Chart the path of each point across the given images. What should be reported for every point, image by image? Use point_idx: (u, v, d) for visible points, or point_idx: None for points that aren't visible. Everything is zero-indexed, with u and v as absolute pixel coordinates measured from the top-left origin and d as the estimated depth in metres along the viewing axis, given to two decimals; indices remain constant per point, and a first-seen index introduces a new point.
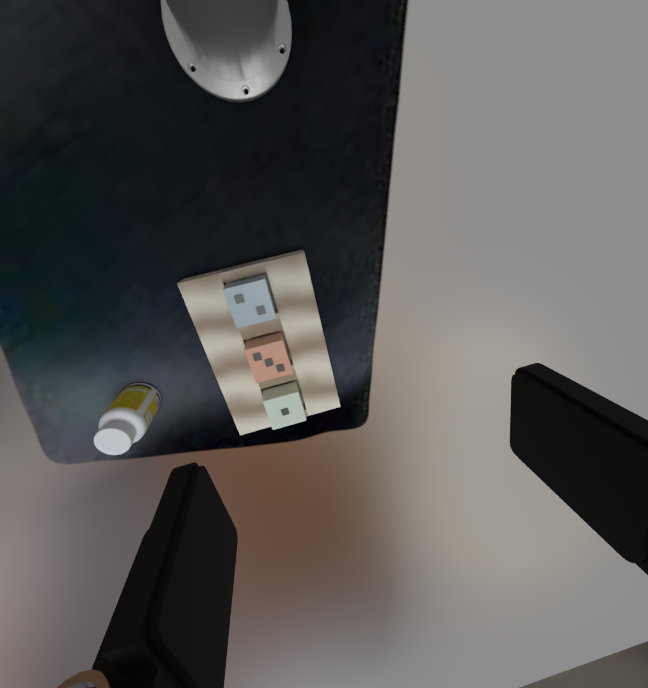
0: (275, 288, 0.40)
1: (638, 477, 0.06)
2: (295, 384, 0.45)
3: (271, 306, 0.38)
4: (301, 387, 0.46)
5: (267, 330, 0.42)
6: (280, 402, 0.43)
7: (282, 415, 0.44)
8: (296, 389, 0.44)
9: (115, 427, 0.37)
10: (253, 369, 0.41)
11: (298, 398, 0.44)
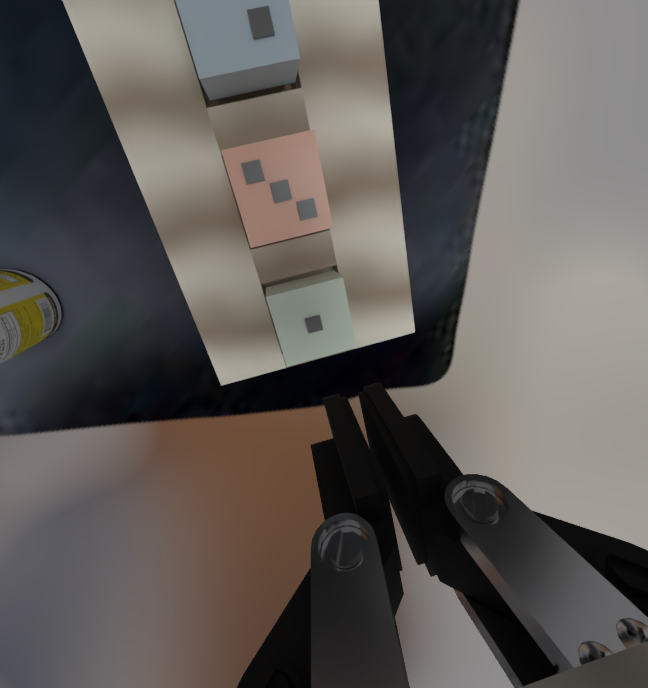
0: (295, 12, 0.17)
1: (403, 490, 0.07)
2: (333, 272, 0.22)
3: (288, 15, 0.15)
4: None
5: (276, 134, 0.19)
6: (303, 302, 0.20)
7: (308, 333, 0.21)
8: (338, 275, 0.20)
9: None
10: (244, 209, 0.17)
11: (343, 294, 0.20)
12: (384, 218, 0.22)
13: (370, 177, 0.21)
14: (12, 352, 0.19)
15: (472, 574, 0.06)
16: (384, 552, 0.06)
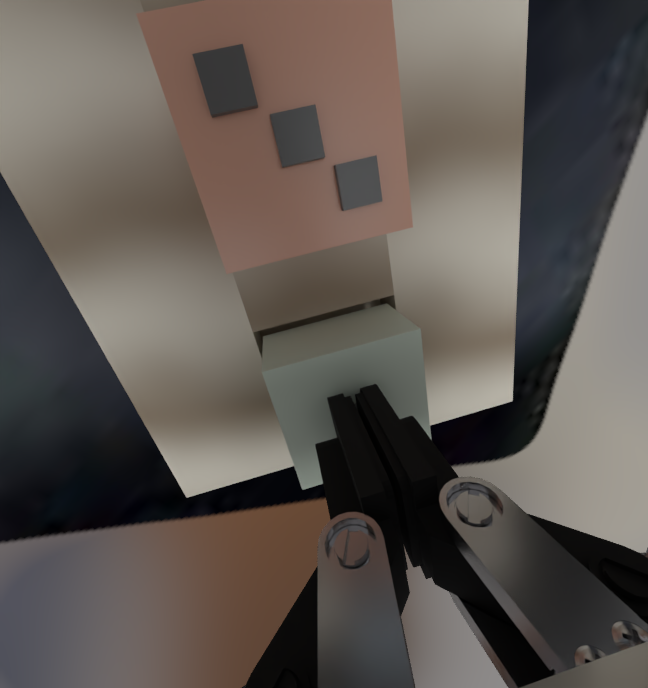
0: None
1: (398, 492, 0.07)
2: (390, 310, 0.12)
3: None
4: None
5: None
6: (339, 378, 0.10)
7: None
8: (406, 322, 0.10)
9: None
10: (207, 181, 0.07)
11: (417, 360, 0.10)
12: (487, 208, 0.11)
13: (471, 125, 0.10)
14: None
15: (466, 577, 0.06)
16: (391, 551, 0.06)
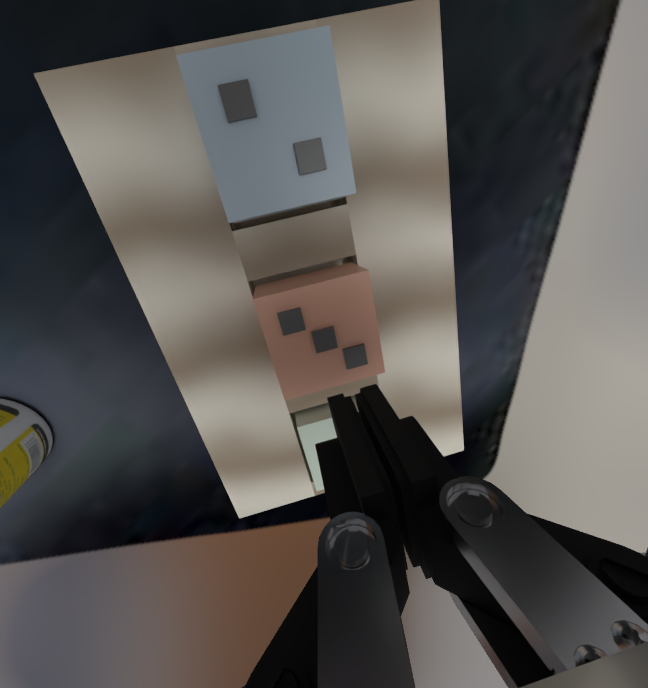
0: None
1: (398, 492, 0.07)
2: None
3: (344, 145, 0.11)
4: None
5: (314, 256, 0.16)
6: None
7: None
8: None
9: None
10: (278, 360, 0.14)
11: None
12: (436, 337, 0.18)
13: (423, 295, 0.17)
14: None
15: (466, 577, 0.06)
16: (391, 551, 0.06)
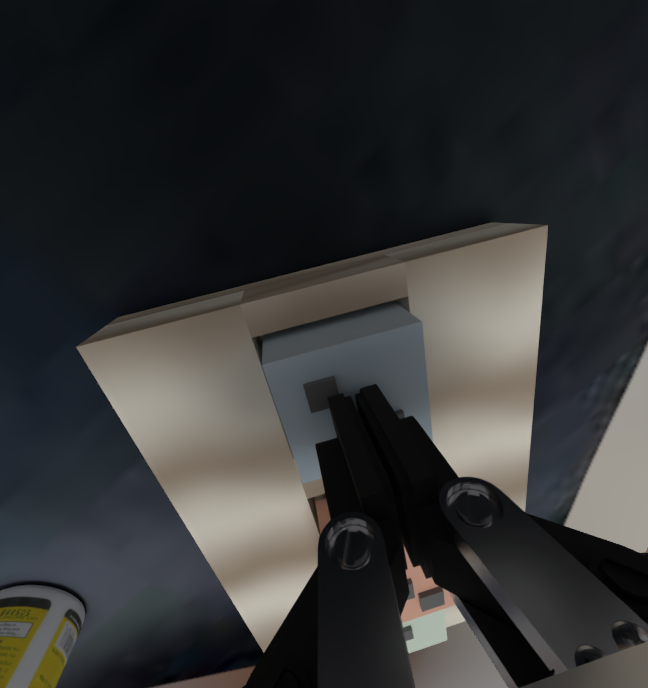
0: (427, 351, 0.12)
1: (398, 492, 0.07)
2: None
3: (426, 411, 0.11)
4: None
5: None
6: None
7: None
8: None
9: None
10: None
11: None
12: None
13: None
14: None
15: (466, 577, 0.06)
16: (391, 551, 0.06)
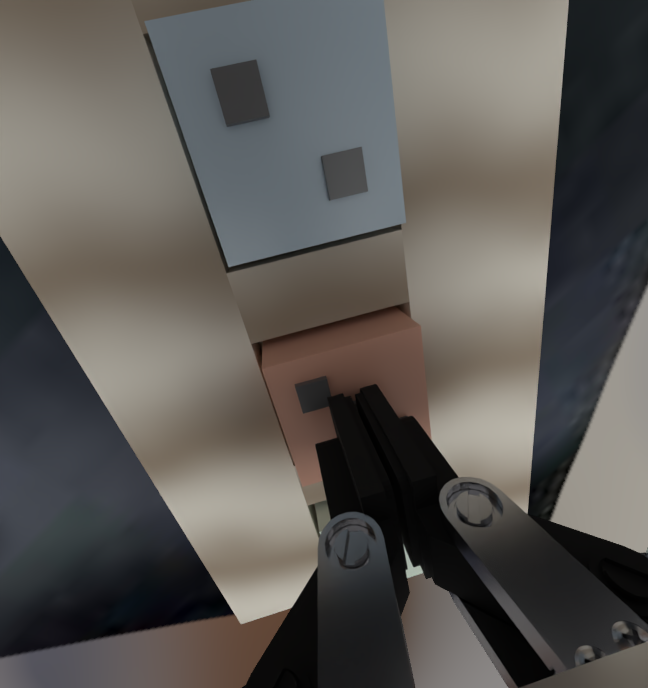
0: (406, 100, 0.08)
1: (398, 492, 0.07)
2: None
3: (393, 158, 0.08)
4: None
5: (349, 305, 0.10)
6: None
7: None
8: None
9: None
10: (295, 441, 0.10)
11: None
12: (509, 404, 0.13)
13: (497, 352, 0.12)
14: None
15: (466, 577, 0.06)
16: (391, 551, 0.06)
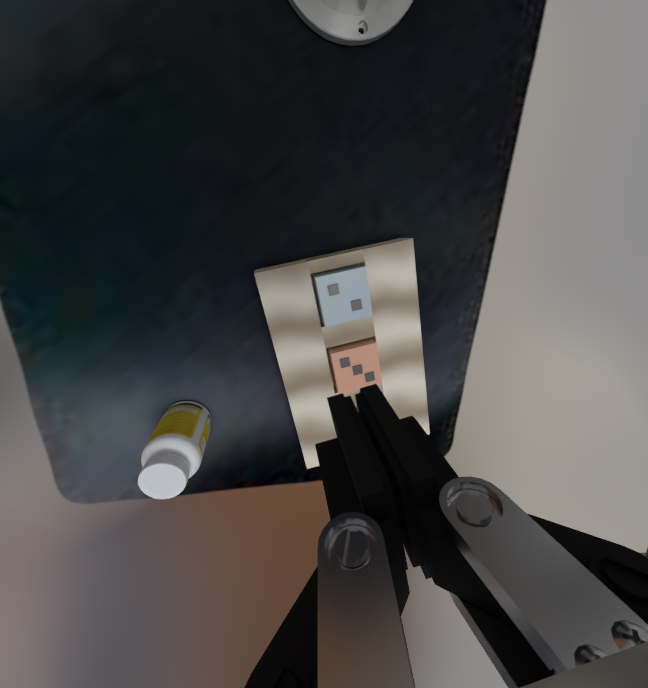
0: (372, 283, 0.32)
1: (398, 492, 0.07)
2: None
3: (369, 300, 0.31)
4: None
5: (356, 337, 0.33)
6: None
7: None
8: None
9: (167, 461, 0.27)
10: (338, 378, 0.33)
11: None
12: (413, 373, 0.36)
13: (407, 353, 0.35)
14: None
15: (466, 577, 0.06)
16: (391, 551, 0.06)
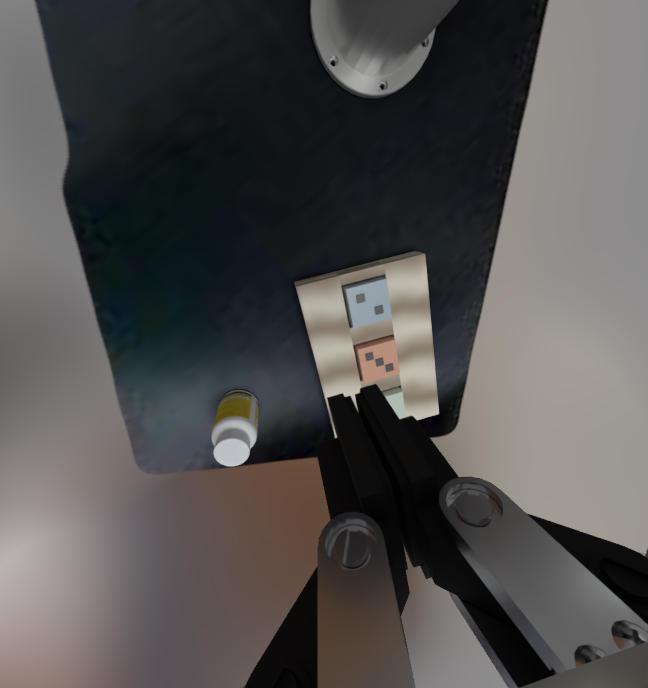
0: (391, 291, 0.39)
1: (398, 492, 0.07)
2: None
3: (389, 306, 0.38)
4: (403, 394, 0.45)
5: (378, 335, 0.41)
6: None
7: None
8: (399, 389, 0.44)
9: (235, 437, 0.35)
10: (363, 369, 0.41)
11: (401, 398, 0.43)
12: (425, 363, 0.43)
13: (419, 347, 0.42)
14: None
15: (466, 577, 0.06)
16: (391, 551, 0.06)
